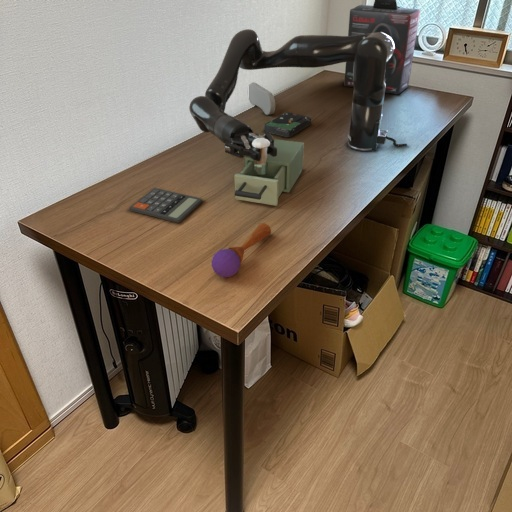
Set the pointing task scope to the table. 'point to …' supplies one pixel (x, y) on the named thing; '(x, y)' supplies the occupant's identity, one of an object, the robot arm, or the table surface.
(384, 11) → the headset box
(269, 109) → the gray flat panel
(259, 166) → the milkshake
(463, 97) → the table surface
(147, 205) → the calculator
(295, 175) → the cabinet
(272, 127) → the disk drive
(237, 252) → the kendama
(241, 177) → the drawer
